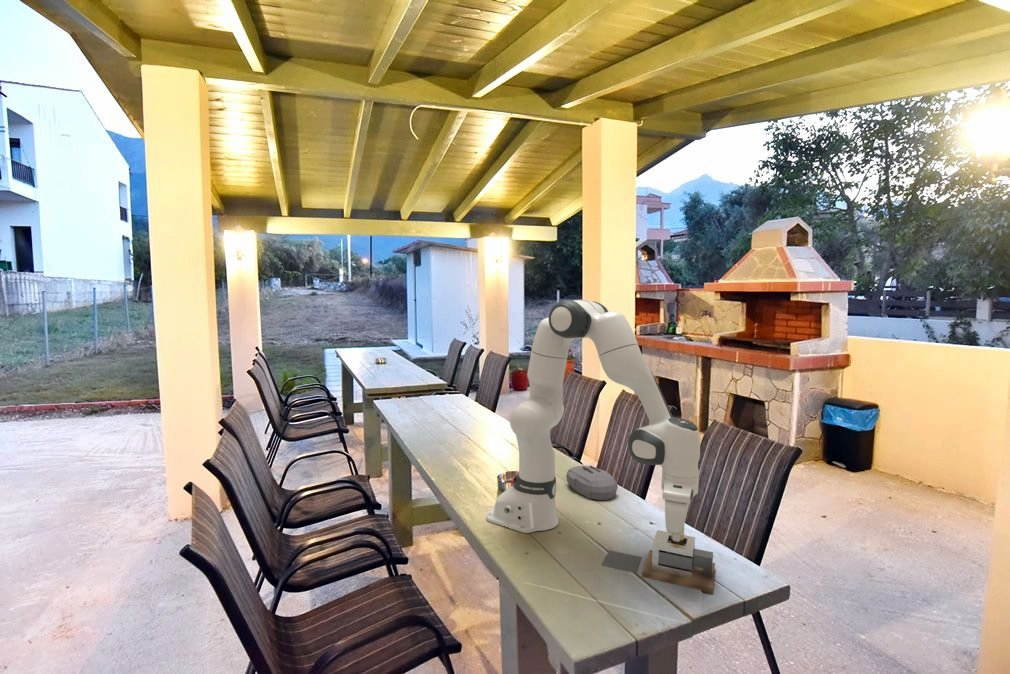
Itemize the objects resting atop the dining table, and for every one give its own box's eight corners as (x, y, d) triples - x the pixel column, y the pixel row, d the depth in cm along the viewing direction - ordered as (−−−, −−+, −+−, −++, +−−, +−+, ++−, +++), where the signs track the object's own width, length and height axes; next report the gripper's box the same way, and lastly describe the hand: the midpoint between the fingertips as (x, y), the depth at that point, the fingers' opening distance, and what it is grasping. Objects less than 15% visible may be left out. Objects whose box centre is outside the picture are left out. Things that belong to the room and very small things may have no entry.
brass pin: (669, 564, 133) (672, 503, 131) (670, 559, 135) (673, 499, 134) (682, 567, 132) (684, 505, 130) (683, 561, 134) (686, 501, 133)
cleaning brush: (560, 485, 195) (590, 505, 177) (561, 463, 194) (591, 481, 176) (594, 480, 201) (626, 498, 183) (595, 458, 200) (627, 475, 182)
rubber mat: (601, 567, 136) (601, 565, 136) (608, 551, 144) (608, 549, 144) (636, 574, 132) (636, 573, 132) (642, 558, 140) (642, 557, 140)
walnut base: (641, 578, 131) (642, 572, 131) (649, 555, 143) (649, 549, 142) (712, 594, 124) (713, 588, 124) (714, 568, 136) (714, 563, 136)
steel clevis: (651, 569, 132) (652, 542, 132) (656, 555, 139) (657, 530, 139) (711, 582, 126) (712, 554, 126) (712, 567, 134) (713, 540, 133)
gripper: (671, 469, 143) (669, 518, 144) (661, 495, 124) (659, 551, 125) (695, 472, 140) (693, 522, 141) (689, 499, 121) (686, 557, 123)
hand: (677, 536), depth 133 cm, fingers closed on brass pin, 3 cm apart
